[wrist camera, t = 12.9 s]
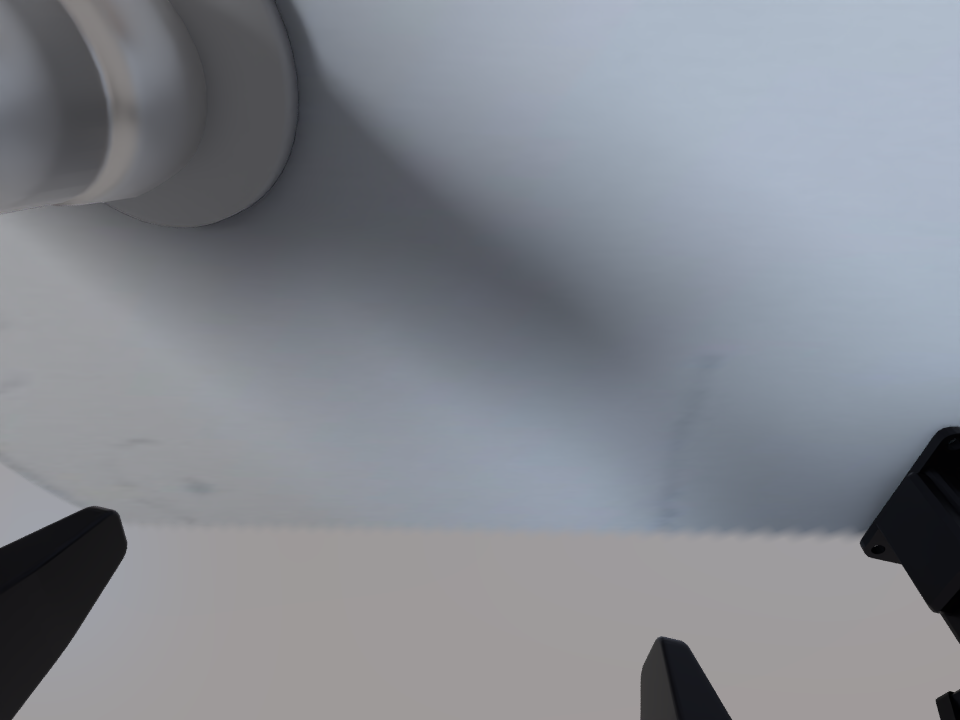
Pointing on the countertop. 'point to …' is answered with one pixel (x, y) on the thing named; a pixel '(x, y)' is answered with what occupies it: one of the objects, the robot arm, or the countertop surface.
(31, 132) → the plastic bottle
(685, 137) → the countertop surface
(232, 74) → the slate coaster
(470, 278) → the countertop surface
